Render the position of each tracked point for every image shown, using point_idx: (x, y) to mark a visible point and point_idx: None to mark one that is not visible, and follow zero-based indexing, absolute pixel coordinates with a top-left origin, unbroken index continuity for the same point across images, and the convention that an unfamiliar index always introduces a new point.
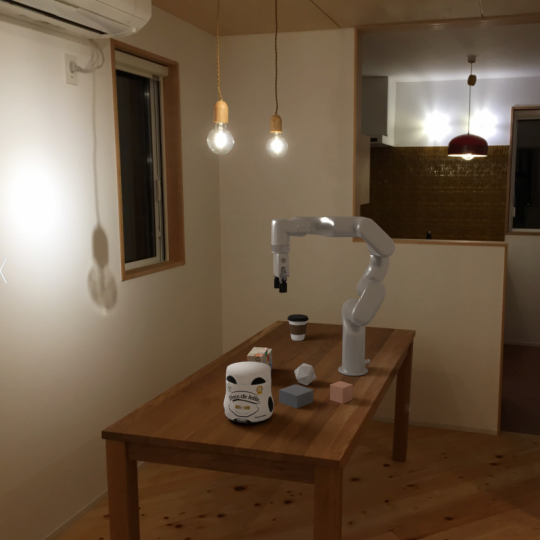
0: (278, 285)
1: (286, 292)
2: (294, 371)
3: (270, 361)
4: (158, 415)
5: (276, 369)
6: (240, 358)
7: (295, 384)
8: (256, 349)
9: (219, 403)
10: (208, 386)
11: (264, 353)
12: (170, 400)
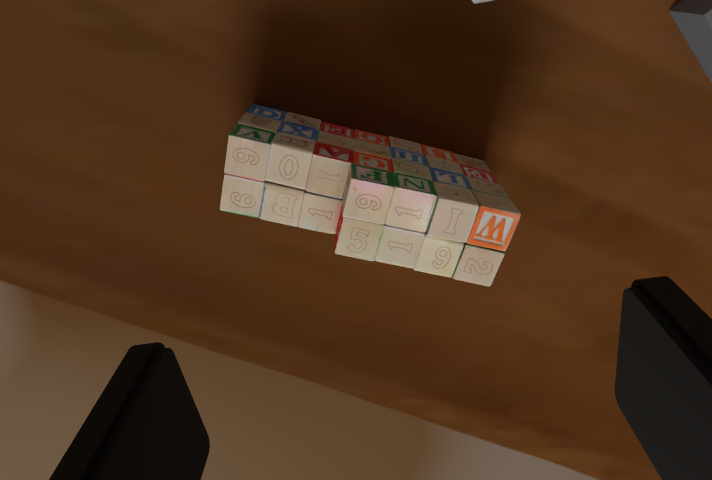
0: (169, 433)
1: (661, 281)
2: (482, 1)
3: (284, 127)
4: None
5: (254, 81)
6: (97, 244)
7: (708, 16)
8: (386, 241)
9: None
10: (469, 346)
11: (456, 199)
12: (584, 434)
